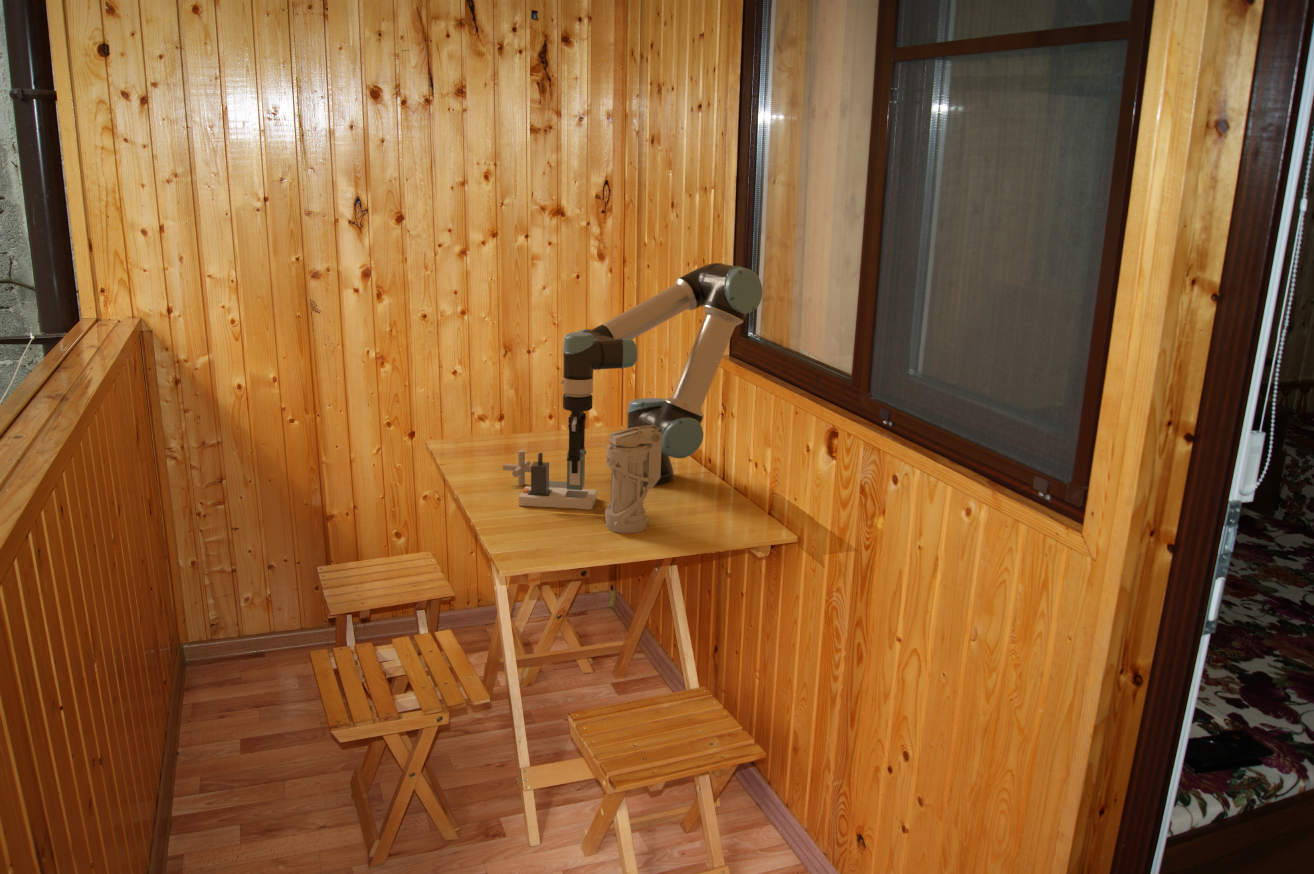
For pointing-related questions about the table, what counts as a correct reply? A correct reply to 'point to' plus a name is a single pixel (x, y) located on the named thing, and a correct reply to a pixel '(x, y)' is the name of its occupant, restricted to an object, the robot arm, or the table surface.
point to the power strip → (559, 498)
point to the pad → (557, 484)
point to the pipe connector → (519, 467)
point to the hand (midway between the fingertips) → (576, 481)
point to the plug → (582, 472)
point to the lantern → (632, 476)
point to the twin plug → (540, 477)
